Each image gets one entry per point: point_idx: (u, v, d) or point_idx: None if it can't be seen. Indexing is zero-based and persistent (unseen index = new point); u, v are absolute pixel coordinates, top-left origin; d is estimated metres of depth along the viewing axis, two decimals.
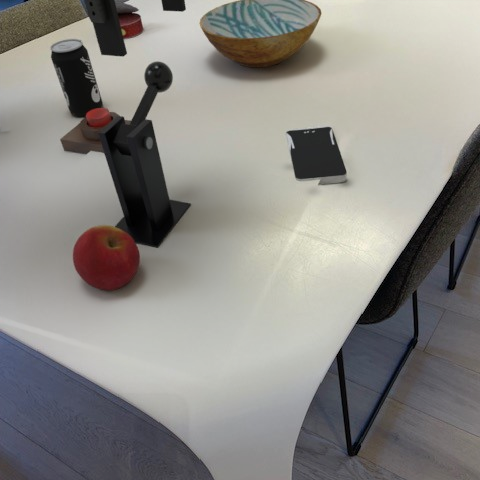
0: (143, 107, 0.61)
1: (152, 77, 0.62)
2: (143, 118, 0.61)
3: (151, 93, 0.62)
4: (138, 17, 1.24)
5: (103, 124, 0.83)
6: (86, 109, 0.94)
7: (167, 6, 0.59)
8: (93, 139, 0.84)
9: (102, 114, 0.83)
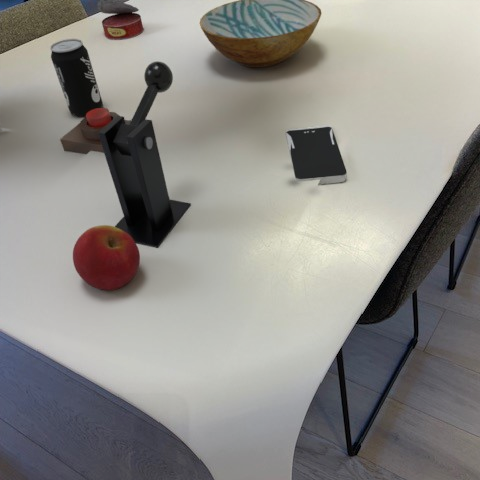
0: (143, 107, 0.61)
1: (152, 77, 0.62)
2: (143, 118, 0.61)
3: (151, 93, 0.62)
4: (138, 17, 1.24)
5: (103, 124, 0.83)
6: (86, 109, 0.94)
7: None
8: (93, 139, 0.84)
9: (102, 114, 0.83)
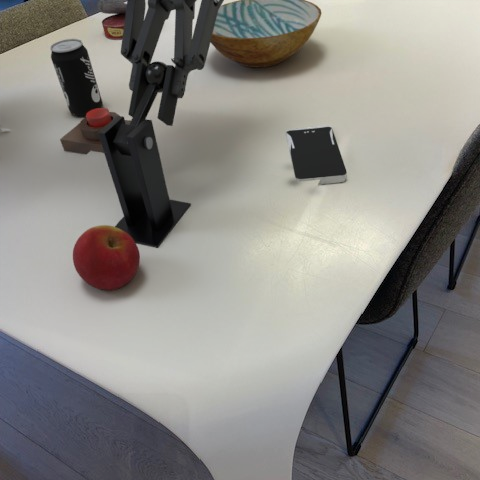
0: (143, 107, 0.61)
1: (152, 77, 0.62)
2: (143, 118, 0.61)
3: (151, 93, 0.62)
4: None
5: (103, 124, 0.83)
6: (86, 109, 0.94)
7: None
8: (93, 139, 0.84)
9: (102, 114, 0.83)
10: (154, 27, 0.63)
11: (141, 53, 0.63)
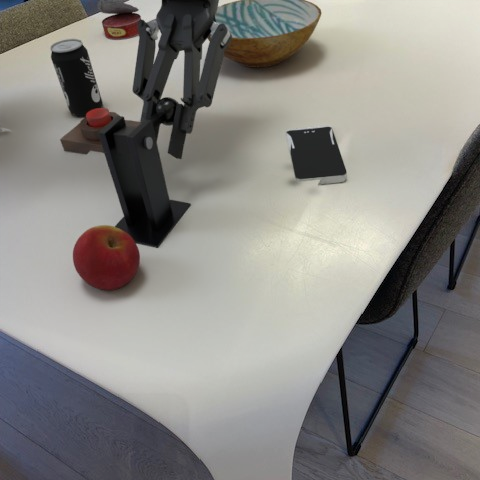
0: None
1: (163, 105, 0.65)
2: None
3: (159, 116, 0.65)
4: (138, 17, 1.24)
5: (103, 124, 0.83)
6: (86, 109, 0.94)
7: None
8: (93, 139, 0.84)
9: (102, 114, 0.83)
10: (164, 67, 0.67)
11: (152, 91, 0.67)
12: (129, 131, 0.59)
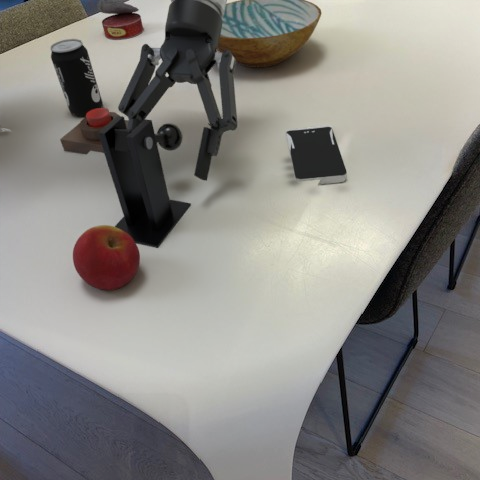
0: None
1: (166, 128, 0.67)
2: None
3: (161, 134, 0.66)
4: (138, 17, 1.24)
5: (103, 124, 0.83)
6: (86, 109, 0.94)
7: None
8: (93, 139, 0.84)
9: (102, 114, 0.83)
10: (155, 93, 0.70)
11: (137, 112, 0.70)
12: (131, 130, 0.60)
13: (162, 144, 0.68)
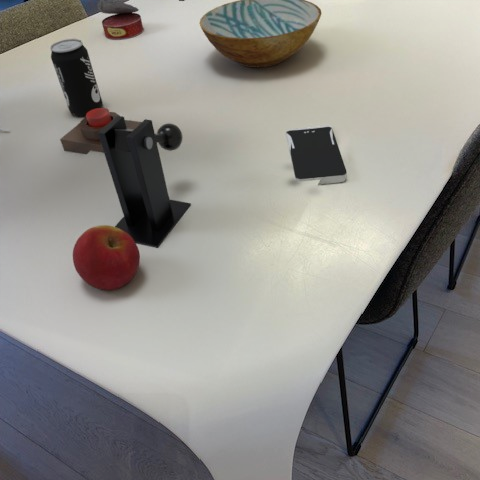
0: None
1: (166, 128, 0.67)
2: None
3: (161, 134, 0.66)
4: (138, 17, 1.24)
5: (103, 124, 0.83)
6: (86, 109, 0.94)
7: None
8: (93, 139, 0.84)
9: (102, 114, 0.83)
10: None
11: None
12: (131, 130, 0.60)
13: (162, 144, 0.68)
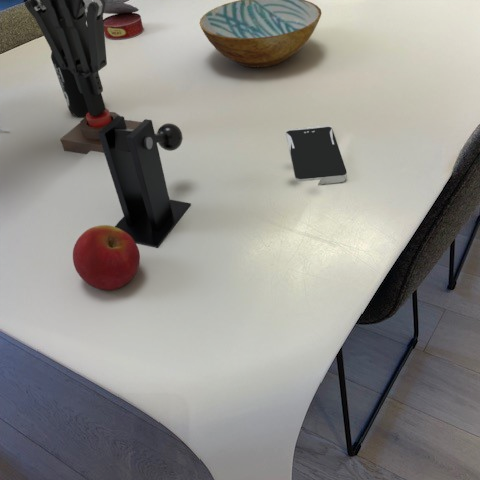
0: None
1: (166, 128, 0.67)
2: None
3: (161, 134, 0.66)
4: (138, 17, 1.24)
5: (103, 124, 0.83)
6: (86, 109, 0.94)
7: None
8: (93, 139, 0.84)
9: (102, 115, 0.83)
10: (69, 39, 0.75)
11: (75, 66, 0.77)
12: (131, 130, 0.60)
13: (162, 144, 0.68)
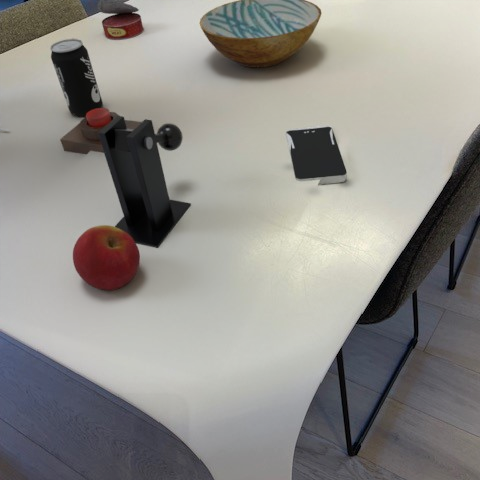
0: None
1: (166, 128, 0.67)
2: None
3: (161, 134, 0.66)
4: (138, 17, 1.24)
5: (103, 124, 0.83)
6: (86, 109, 0.94)
7: None
8: (93, 139, 0.84)
9: (102, 114, 0.83)
10: None
11: None
12: (131, 130, 0.60)
13: (162, 144, 0.68)
